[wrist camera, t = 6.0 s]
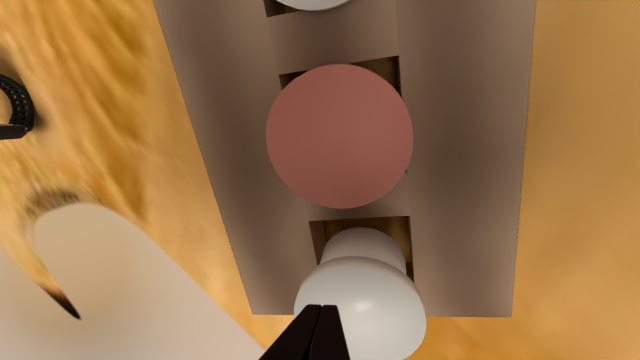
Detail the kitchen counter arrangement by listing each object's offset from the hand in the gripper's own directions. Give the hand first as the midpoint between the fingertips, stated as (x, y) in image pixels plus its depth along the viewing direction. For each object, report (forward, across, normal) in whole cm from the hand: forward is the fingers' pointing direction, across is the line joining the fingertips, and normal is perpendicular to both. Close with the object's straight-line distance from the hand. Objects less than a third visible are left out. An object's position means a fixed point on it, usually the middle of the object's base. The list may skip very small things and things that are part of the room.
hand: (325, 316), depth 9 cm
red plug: (+9, 0, -3) cm, 10 cm away
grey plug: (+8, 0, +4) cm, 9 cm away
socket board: (+11, 0, -3) cm, 11 cm away
